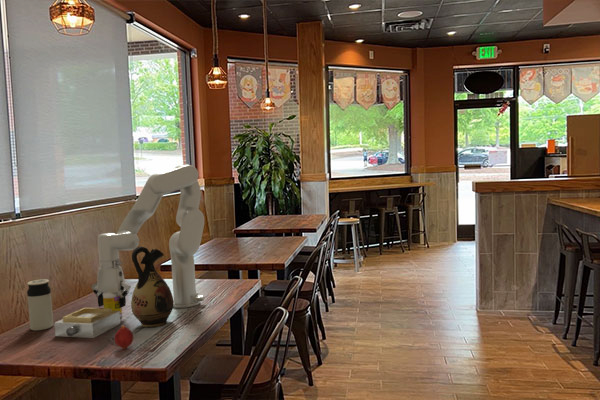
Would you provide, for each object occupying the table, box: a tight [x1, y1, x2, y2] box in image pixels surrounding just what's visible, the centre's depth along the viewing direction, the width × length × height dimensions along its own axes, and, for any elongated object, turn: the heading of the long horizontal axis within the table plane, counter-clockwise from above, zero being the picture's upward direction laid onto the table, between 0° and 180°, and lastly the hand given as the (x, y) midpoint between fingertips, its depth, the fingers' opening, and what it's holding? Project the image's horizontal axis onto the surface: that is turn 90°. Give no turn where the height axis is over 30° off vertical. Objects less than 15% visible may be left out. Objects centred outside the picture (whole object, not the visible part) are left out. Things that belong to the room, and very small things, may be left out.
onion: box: [114, 324, 134, 350], centre depth 165 cm, size 6×6×8 cm
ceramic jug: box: [130, 246, 174, 328], centre depth 189 cm, size 17×15×30 cm
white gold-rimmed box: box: [53, 307, 121, 339], centre depth 186 cm, size 16×18×6 cm
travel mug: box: [26, 278, 54, 332], centre depth 192 cm, size 8×8×18 cm
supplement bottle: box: [103, 292, 123, 318], centre depth 201 cm, size 7×7×13 cm
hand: (112, 306), depth 201 cm, fingers open, 9 cm apart
